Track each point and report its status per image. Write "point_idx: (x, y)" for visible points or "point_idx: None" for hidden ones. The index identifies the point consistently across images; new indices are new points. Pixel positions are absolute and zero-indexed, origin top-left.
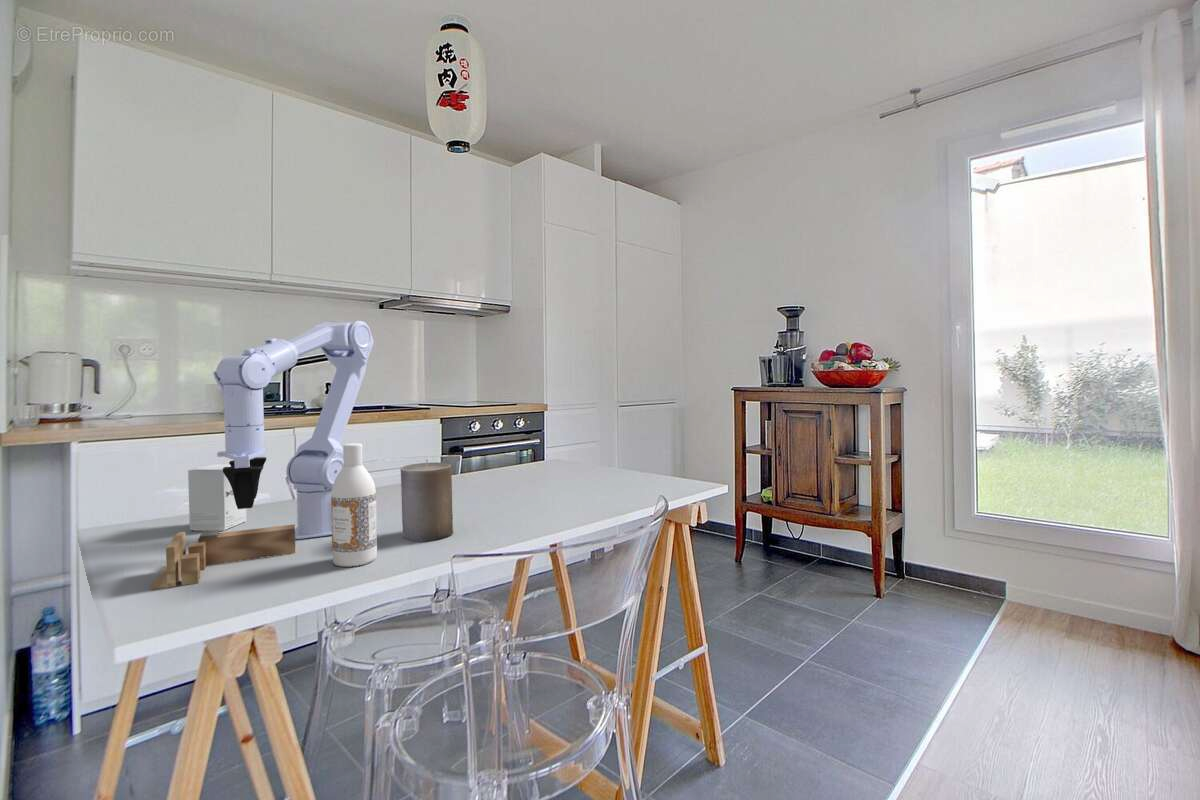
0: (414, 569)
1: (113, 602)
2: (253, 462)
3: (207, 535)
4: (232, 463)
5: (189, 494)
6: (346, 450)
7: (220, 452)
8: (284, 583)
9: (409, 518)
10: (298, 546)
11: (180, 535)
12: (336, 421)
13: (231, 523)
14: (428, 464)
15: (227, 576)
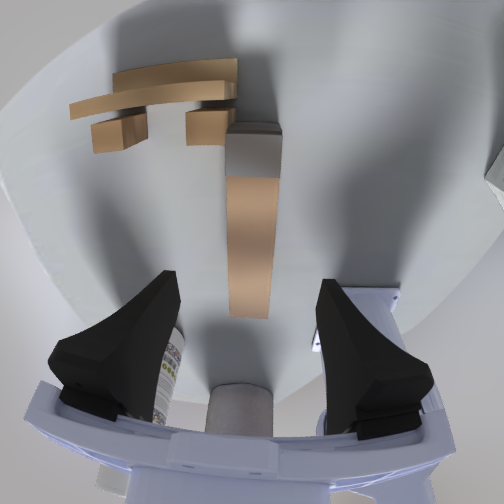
0: None
1: (87, 42)
2: (338, 425)
3: (225, 153)
4: (369, 387)
5: None
6: (98, 479)
7: (195, 468)
8: (89, 259)
9: (219, 410)
10: (281, 287)
11: (176, 97)
12: None
13: (497, 195)
14: None
15: (140, 183)
